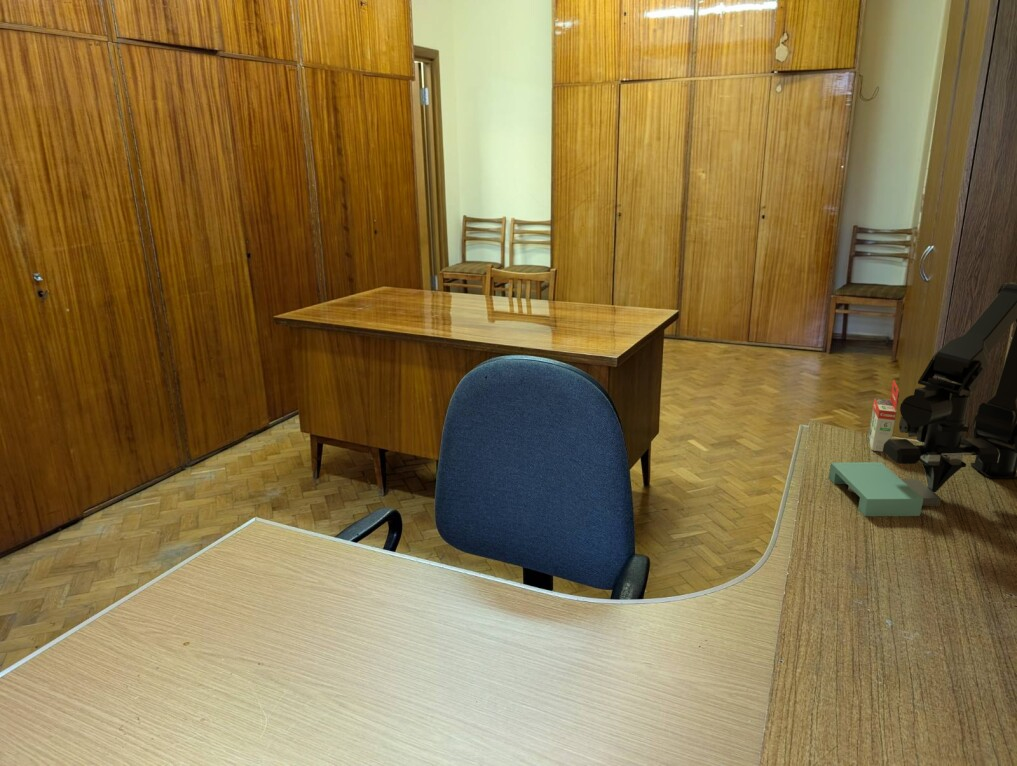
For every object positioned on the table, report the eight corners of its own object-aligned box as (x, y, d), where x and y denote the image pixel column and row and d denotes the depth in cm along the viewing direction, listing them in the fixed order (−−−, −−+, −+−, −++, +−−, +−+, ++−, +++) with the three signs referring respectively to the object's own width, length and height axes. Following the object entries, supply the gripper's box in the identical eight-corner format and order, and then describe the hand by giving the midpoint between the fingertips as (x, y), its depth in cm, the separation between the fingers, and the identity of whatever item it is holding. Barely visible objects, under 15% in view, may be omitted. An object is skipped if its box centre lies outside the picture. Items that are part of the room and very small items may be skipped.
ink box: (871, 451, 152) (881, 388, 147) (866, 437, 159) (876, 377, 154) (889, 453, 150) (900, 390, 146) (884, 439, 157) (894, 379, 153)
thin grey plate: (916, 485, 136) (918, 478, 135) (939, 505, 128) (941, 498, 128) (860, 485, 136) (861, 479, 136) (879, 505, 129) (881, 498, 128)
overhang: (878, 477, 139) (880, 462, 138) (919, 515, 125) (923, 498, 124) (828, 478, 139) (830, 462, 138) (864, 516, 125) (867, 499, 124)
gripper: (971, 400, 134) (955, 472, 139) (875, 401, 134) (863, 473, 139) (1009, 421, 123) (991, 498, 128) (905, 422, 124) (891, 499, 129)
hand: (932, 491), depth 131 cm, fingers closed
